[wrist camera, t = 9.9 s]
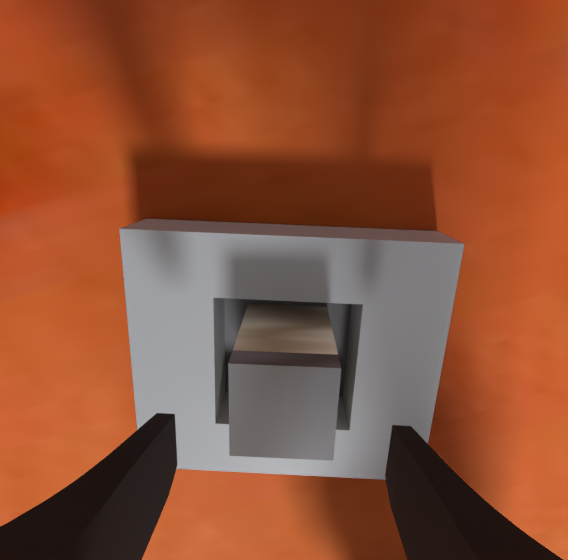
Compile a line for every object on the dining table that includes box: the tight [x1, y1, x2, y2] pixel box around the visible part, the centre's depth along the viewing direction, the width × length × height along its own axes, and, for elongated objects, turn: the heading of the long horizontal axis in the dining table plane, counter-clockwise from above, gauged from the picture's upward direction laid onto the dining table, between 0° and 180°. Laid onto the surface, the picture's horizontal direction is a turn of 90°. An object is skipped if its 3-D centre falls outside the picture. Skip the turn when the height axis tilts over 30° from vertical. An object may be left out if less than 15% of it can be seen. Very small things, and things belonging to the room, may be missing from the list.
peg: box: [228, 304, 341, 461], centre depth 17 cm, size 4×4×6 cm
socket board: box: [120, 219, 464, 480], centre depth 19 cm, size 14×12×3 cm
